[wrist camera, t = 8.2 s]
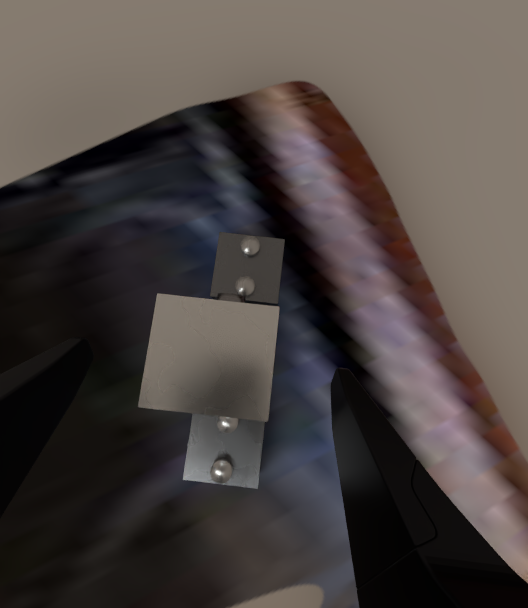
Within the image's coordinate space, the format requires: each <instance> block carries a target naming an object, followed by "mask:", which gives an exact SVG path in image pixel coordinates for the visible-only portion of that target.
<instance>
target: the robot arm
mask: <svg viewBox="0 0 528 608" xmlns="http://www.w3.org/2000/svg"><path fill="white" fill-rule="evenodd" d="M93 357H94V355H93V351H92V349H91V346H90V344H89V341H88V340H87V339H86V338H79V337H74V338H71V339H69V340H67V341H65V342H63V343H61V344H59V345H57V346H55V347H53V348H52V349H50V350H48V351H46V352H44V353H42V354H40V355H38V356H36V357H34V358H32V359H30V360H28V361H26V362H24V363H22V364H20V365H18V366H16V367H14V368H12V369H10V370H8V371H6V372H4V373H2V374H0V518H1V516H2V514H3V513H4V511H5V510H6V508H7V506H8V505H9V503H10V501H11V500H12V498H13V497H14V495H15V493H16V492H17V490H18V489H19V487H20V485H21V484H22V482H23V481H24V479H25V477H26V476H27V474H28V472H29V471H30V469H31V468H32V466H33V464H34V463H35V461H36V460H37V458H38V456H39V455H40V453H41V451H42V450H43V448H44V447H45V445H46V443H47V442H48V440H49V439H50V437H51V435H52V434H53V432H54V430H55V429H56V427H57V426H58V424H59V422H60V421H61V419H62V418H63V416H64V414H65V413H66V411H67V410H68V408H69V406H70V405H71V403H72V401H73V400H74V398H75V396H76V394H77V392H78V390H79V388H80V386H81V384H82V382H83V380H84V378H85V376H86V373H87V371H88V369H89V367H90V365H91V363H92V361H93ZM331 410H332V431H333V438H334V445H335V451H336V458H337V464H338V471H339V477H340V484H341V490H342V497H343V503H344V510H345V516H346V523H347V529H348V536H349V542H350V549H351V555H352V562H353V568H354V575H355V581H356V587H357V595H358V601H359V608H528V583H527V582H526V581H524V580H523V579H522V578H521V577H520V576H519V575H518V574H517V573H516V572H515V571H514V570H513V569H511V568H510V567H509V566H508V564H507V563H506V562H505V561H504V560H503V559H502V558H501V557H500V556H499V555H498V554H497V552H496V551H495V550H494V549H493V548H492V547H491V546H490V545H489V543H488V542H487V541H486V540H485V539H484V538H483V537H482V535H481V534H480V533H479V532H478V531H477V530H476V529H475V528H474V526H473V525H472V524H471V523H470V522H469V521H468V520H467V519H466V517H465V516H464V515H463V514H462V513H461V512H460V511H459V510H458V508H457V507H456V506H455V505H454V504H453V503H452V501H451V500H450V499H449V498H448V497H447V496H446V494H445V493H444V492H443V491H442V490H441V488H440V487H439V486H438V485H437V483H436V482H435V481H434V480H433V478H432V477H431V476H430V475H429V473H428V472H427V471H426V470H425V468H424V467H423V466H422V464H421V463H420V462H419V460H416V457H415V455H414V454H413V453H412V451H411V450H410V449H409V447H408V446H407V445H406V443H405V442H404V441H403V440H402V438H401V437H400V436H399V434H398V433H397V432H396V430H395V429H394V428H393V426H392V425H391V424H390V422H389V421H388V420H387V419H386V417H385V416H384V415H383V413H382V412H381V411H380V409H379V408H378V407H377V405H376V404H375V403H374V402H373V400H372V399H371V398H370V396H369V395H368V394H367V392H366V391H365V390H364V388H363V387H362V386H361V384H360V383H359V382H358V381H357V379H356V378H355V377H354V375H353V374H352V373H351V371H350V370H349V369H344V368H337V369H336V371H335V374H334V376H333V379H332V382H331Z"/></svg>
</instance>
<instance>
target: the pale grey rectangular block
mask: <svg viewBox="0 0 528 608" xmlns="http://www.w3.org/2000/svg"><path fill="white" fill-rule="evenodd" d="M245 300H246V297H244V296H241V295H237V294H231V293H218V295H217V300H213V299H204V298H194V297H185V296H176V295H167V294H157V299H156V304H155V310H154V316H153V322H152V328H151V333H150V339H149V345H148V351H147V357H146V363H145V368H144V374H143V380H142V386H141V392H140V398H139V403H138V407H141V408H150V409H159V410H168V411H177V412H186V413H194V414H203V415H212V416H221V417H230V418H239V419H247V420H256V421H265V422H268V417H269V407H270V397H271V387H272V377H273V367H274V357H275V348H276V338H277V328H278V318H279V308H280V307H278V306H268V305H259V304H250V303H245Z"/></svg>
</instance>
